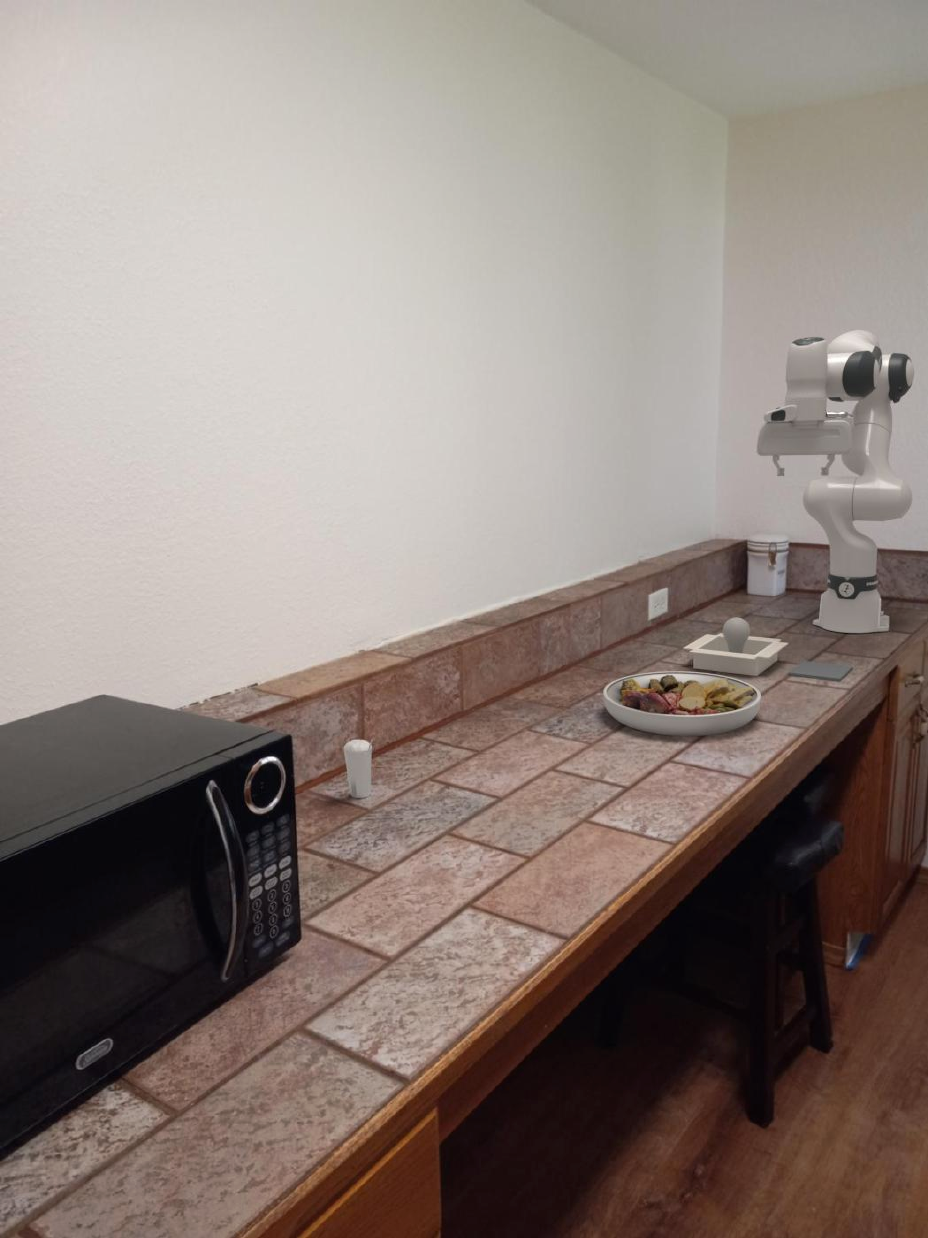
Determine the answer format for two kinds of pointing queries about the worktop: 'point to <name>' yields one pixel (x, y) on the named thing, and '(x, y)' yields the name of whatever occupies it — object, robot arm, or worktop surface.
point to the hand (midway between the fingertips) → (802, 475)
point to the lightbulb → (736, 634)
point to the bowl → (682, 702)
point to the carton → (734, 654)
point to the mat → (820, 670)
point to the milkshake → (359, 767)
